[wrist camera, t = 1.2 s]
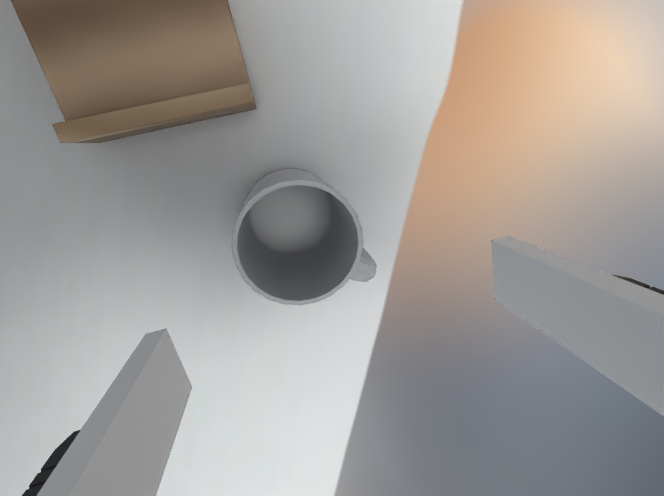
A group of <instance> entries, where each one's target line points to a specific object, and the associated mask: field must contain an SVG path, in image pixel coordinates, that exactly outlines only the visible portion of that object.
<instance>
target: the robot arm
mask: <svg viewBox="0 0 664 496" xmlns="http://www.w3.org/2000/svg"><path fill="white" fill-rule="evenodd" d="M491 242H492V258H493V276H494V293H495V300H497V301H498V302H500V303H501V304H503V305H504V306H505V307H507V308H508V309H510V310H511V311H513V312H514V313H516V314H517V315H518V316H520V317H521V318H523V319H524V320H526V321H527V322H529V323H530V324H531V325H533V326H534V327H536V328H537V329H539V330H540V331H541V332H543V333H545V334H546V335H547V336H549V337H550V338H552V339H553V340H554V341H556V342H557V343H559V344H561V345H562V346H563V347H565V348H566V349H568V350H569V351H570V352H572V353H573V354H575V355H576V356H578V357H579V358H580V359H582V360H583V361H585V362H587V363H588V364H589V365H591V366H592V367H593V368H595V369H596V370H598V371H599V372H601V373H602V374H603V375H605V376H607V377H608V378H609V379H611V380H612V381H614V382H615V383H616V384H618V385H620V386H621V387H622V388H624V389H625V390H627V391H628V392H629V393H631V394H632V395H634V396H635V397H637V398H638V399H640V400H641V401H642V402H644V403H645V404H647V405H648V406H650V407H651V408H653V409H654V410H655V411H657V412H659V413H660V414H661V415H663V416H664V291H663V290H660V289H657V288H655V287H650V286H649V285H647V284H644V283H641V282H639V281H636V280H633V279H631V278H626V277H621V276H616V275H611V274H608V273H605V272H602V271H600V270H597V269H595V268H592V267H589V266H587V265H584V264H582V263H579V262H576V261H574V260H571V259H569V258H566V257H563V256H560V255H558V254H555V253H553V252H550V251H548V250H545V249H543V248H540V247H537V246H535V245H532V244H529V243H527V242H524V241H522V240H519V239H516V238H513V237H511V236H505V237H501V238H498V239H494V240H492V241H491ZM191 389H192V386H191V383H190V381H189V379H188V377H187V374H186V372H185V370H184V367H183V365H182V363H181V361H180V358H179V356H178V354H177V352H176V349H175V347H174V345H173V342H172V340H171V338H170V336H169V333H168V331H167V329H163V330H159V331H155V332H152V333H148V334H145V336H144V337H143V339H142V340H141V342H140V343H139V344H138V346H137V347H136V349H135V350H134V352H133V353H132V355H131V356H130V358H129V359H128V361H127V362H126V364H125V365H124V367H123V368H122V370H121V371H120V373H119V374H118V376H117V377H116V379H115V380H114V382H113V383H112V384H111V386H110V387H109V389H108V390H107V392H106V393H105V395H104V396H103V398H102V399H101V401H100V402H99V404H98V405H97V407H96V408H95V410H94V411H93V413H92V414H91V416H90V417H89V419H88V420H87V422H86V423H85V424H84V426H83V427H82V429H81V430H79V431H75V432H73V433H72V434H71V435H70V436H69V437H68V438H67V439H66V440H65V441H64V442H63V443H62V444H61V445H60V446H59V447H58V448H56V449H55V450H54V452H53V453H52V455H51V456H50V457H49V459H48V460H47V462H46V463H45V464H44V466H43V467H42V469H41V473H38V474H37V476H36V477H35V478H34V480H33V481H32V483H31V484H30V485H29V489H28V490H26V491H25V492H24V494H23V495H22V496H156V494H157V491H158V488H159V485H160V482H161V479H162V476H163V473H164V470H165V467H166V464H167V461H168V458H169V455H170V452H171V449H172V446H173V443H174V440H175V437H176V434H177V431H178V428H179V425H180V422H181V419H182V416H183V413H184V410H185V407H186V404H187V401H188V398H189V395H190V392H191Z"/></svg>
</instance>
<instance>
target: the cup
mask: <svg viewBox="0 0 664 496" xmlns="http://www.w3.org/2000/svg"><path fill="white" fill-rule="evenodd" d="M362 247H363V239H362V228H361V225H360V222H359V220H358V217H357V214H356V212H355V211H354V210H353V208H352V207H351V205H350V204H349V203H348V201H347V200H346V199H345V198H344V197H342V196H341V195H340V194H339V193H337V192H336V191H335V190H334V189H332V188H331V187H330V186H328V185H327V184H326V183H324V182H323V181H322V180H321V179H319V178H318V177H317V176H315V175H313V174H311V173H309V172H306V171H304V170H298V169H291V168H290V169H282V170H277V171H275V172H272V173H270V174H267V175H266V176H264V177H263V178H262V179H261V180H259V181H258V182H257V183H256V184H255V185H254V187H253V188H252V189H251V191H250V192H249V194H248V196H247V198H246V200H245V203H244V205H243V207H242V209H241V211H240V214H239V216H238V219H237V221H236V224H235V227H234V230H233V238H232V252H233V256H234V261H235V265H236V267H237V269H238V270H239V272H240V274H241V276H242V278H243V279H244V281H245V282H246V283H247V284H248V285H249V286H250V287H251V288H252V289H253V290H254V291H255V292H257V293H259V294H260V295H262V296H264V297H265V298H267V299H269V300H272V301H275V302H279V303H282V304H290V305H303V304H309V303H314V302H318V301H320V300H322V299H325V298H327V297H329V296H331V295H332V294H334V293H335V292H336V291H338V290H339V289H340V288H342V287H343V286H344V285H345V284H346V282H347V281H348V280H349V279H352V280H356V281H361V282H367V281H368V280H370V279H371V278H373V277H374V276H375V273H376V266H377V265H376V263H375V262H374V260H373V259H372V258H371V256H370V255H369V254H368V253H367V251H365V250H364V249H363V248H362Z"/></svg>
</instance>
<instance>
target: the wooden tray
mask: <svg viewBox="0 0 664 496" xmlns="http://www.w3.org/2000/svg"><path fill="white" fill-rule="evenodd" d="M11 1H12V4H13V6H14V8H15V10H16V12H17V15H18V17H19V19H20V21H21V23H22V26H23V28H24V30H25V32H26V34H27V37H28V39H29V41H30V43H31V46H32V48H33V50H34V52H35V54H36V57H37V59H38V61H39V63H40V65H41V68H42V70H43V72H44V74H45V76H46V79H47V81H48V83H49V85H50V87H51V90H52V92H53V94H54V96H55V99H56V101H57V103H58V105H59V107H60V110H61V112H62V114H63V116H64V118H65V122H60V123H56V124H52V125H53V127H54V129H55V132H56V134H57V136H58V138H59V140H60V142H61V143H100V142H105V141H109V140H114V139H119V138H123V137H128V136H133V135H137V134H142V133H146V132H151V131H156V130H160V129H165V128H170V127H174V126H179V125H183V124H188V123H193V122H197V121H202V120H207V119H211V118H216V117H221V116H225V115H230V114H234V113H239V112H244V111H248V110H253V109H256V105H255V101H254V97H253V94H252V90H251V86H250V83H249V79H248V75H247V71H246V68H245V64H244V60H243V56H242V53H241V49H240V45H239V42H238V38H237V34H236V30H235V27H234V23H233V19H232V15H231V12H230V8H229V4H228V0H11Z"/></svg>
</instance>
